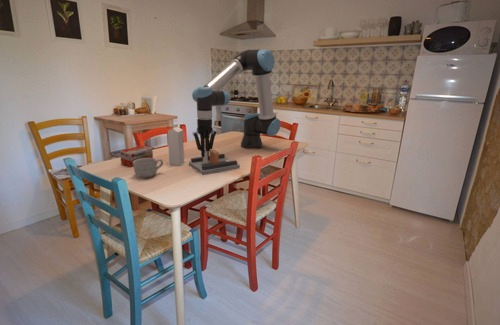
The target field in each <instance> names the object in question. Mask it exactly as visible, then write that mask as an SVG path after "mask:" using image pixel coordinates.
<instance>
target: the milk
mask: <svg viewBox="0 0 500 325" xmlns="http://www.w3.org/2000/svg"><path fill="white" fill-rule="evenodd" d="M171 127H172V128H170V129H169V130H168V131H167V144H168V145H167V146H168V147H167V148H168V163H169V166H174V167H175V166H176V167H180V166H181V165H183V164H184V163H185V153H184V152H185V151H184V147H185V146H184V130H183V129H182V128H180V127H179V124H178V123H177V124H174V125H172V126H171Z"/></svg>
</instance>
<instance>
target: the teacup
mask: <svg viewBox="0 0 500 325" xmlns="http://www.w3.org/2000/svg"><path fill="white" fill-rule="evenodd" d="M158 162H160V164H159V165H158V166H157V164H158ZM133 165H134V167H133V172H134V174H135V175H136V176H138V177H139V178H145V179H146V178H151V177H153V176H154V175H155V174H157V171H158V170H159V169H160V168H161V167H162V166H163V165H164V161H163V160H162V159H161V158H157V159H156V158H154V157H153V158H142V159H137V160H134V161H133Z"/></svg>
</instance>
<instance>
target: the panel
mask: <svg viewBox="0 0 500 325" xmlns="http://www.w3.org/2000/svg"><path fill="white" fill-rule="evenodd" d="M228 161H232V160H231V159H230V158H228V157H226V156H225V158H221V159H219V163H221V162H228ZM209 164H212V163H211V162H210V160H208V163H204V162H203V161H202V162H195V163H192V162H191V160H190V161H188V166H190V167H191V168H192V169H194V170H195V171H197V173H198V174H200V175H202V176H204V175H211V174H217V173H221V172H223V173H224V172H227V171H234V170H238V169H237V168H240V167H241V165H240V164H239V163H237V165H233V166H227V167H221V168H215V169H209V170H202V166H203V165H209ZM233 169H234V170H233Z"/></svg>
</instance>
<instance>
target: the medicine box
mask: <svg viewBox="0 0 500 325" xmlns="http://www.w3.org/2000/svg"><path fill="white" fill-rule="evenodd" d="M119 155H120V156H119V157H120V163H121V165H122V166H127V167H129V168H134V165H133V161H134V160H137V159H142V158H154V157H153V156H154V153H153V147H151V146H146V145H139V146H134V147H130V148H126V149H123V150H120V151H119Z"/></svg>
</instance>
